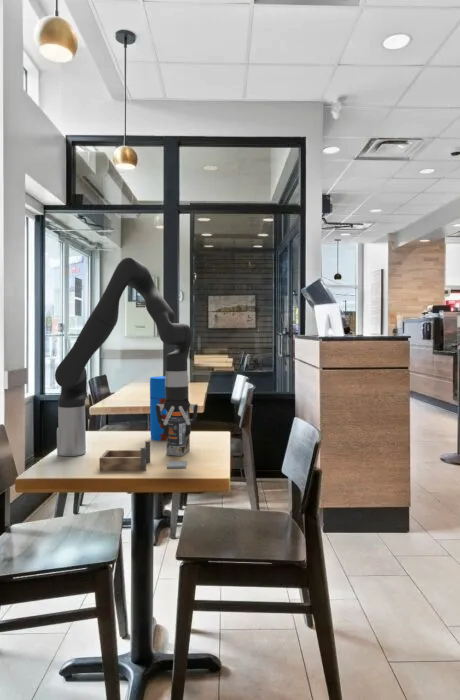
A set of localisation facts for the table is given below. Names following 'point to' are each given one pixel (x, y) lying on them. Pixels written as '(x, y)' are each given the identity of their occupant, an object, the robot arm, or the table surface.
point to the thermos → (155, 398)
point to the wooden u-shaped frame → (125, 459)
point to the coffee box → (179, 450)
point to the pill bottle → (176, 430)
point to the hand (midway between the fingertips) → (177, 435)
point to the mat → (177, 464)
